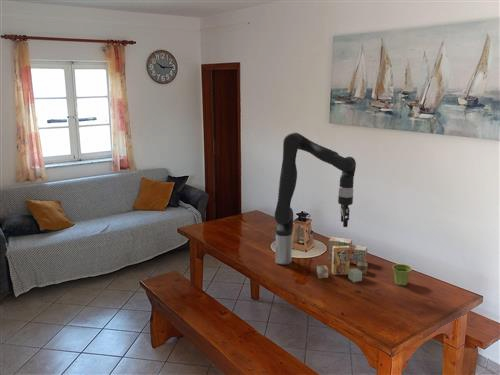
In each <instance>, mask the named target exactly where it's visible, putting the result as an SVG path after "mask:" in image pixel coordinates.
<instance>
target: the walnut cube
mask: <svg viewBox="0 0 500 375" xmlns="http://www.w3.org/2000/svg"><path fill="white" fill-rule="evenodd" d="M356 268H357V269H359V270H360V271H362V276H363V275H365V276H367V272H368V262H366V263H364V262H358V264H356Z"/></svg>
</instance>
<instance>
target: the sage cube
mask: <svg viewBox="0 0 500 375" xmlns="http://www.w3.org/2000/svg"><path fill="white" fill-rule="evenodd" d="M347 278H348V279H349V280H350V281H351V282H353V283H358V282H362V280H363V274H362V271H360V270H359V269H357V267H356V268H351V269H350V268H349V274H348V277H347Z"/></svg>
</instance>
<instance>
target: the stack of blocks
mask: <svg viewBox="0 0 500 375" xmlns="http://www.w3.org/2000/svg"><path fill="white" fill-rule="evenodd" d="M333 246H349V248H350V262H349V264H354V265H357V264H358V262H364V263H368V262H367V261H368V246H362V245H356V244H353V240H352V239H350V238H349V239H348V238H342V237H336V236H331V237H330V238H329V239H328V253H327V255H328V256H327V257H328V260H330V261H332V249H333Z"/></svg>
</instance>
